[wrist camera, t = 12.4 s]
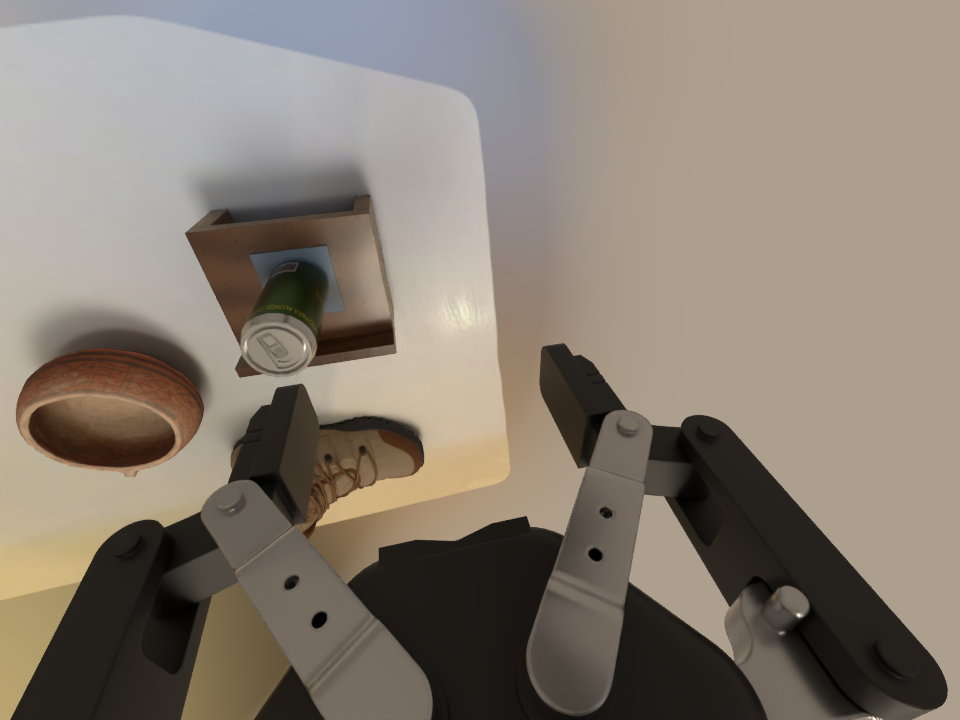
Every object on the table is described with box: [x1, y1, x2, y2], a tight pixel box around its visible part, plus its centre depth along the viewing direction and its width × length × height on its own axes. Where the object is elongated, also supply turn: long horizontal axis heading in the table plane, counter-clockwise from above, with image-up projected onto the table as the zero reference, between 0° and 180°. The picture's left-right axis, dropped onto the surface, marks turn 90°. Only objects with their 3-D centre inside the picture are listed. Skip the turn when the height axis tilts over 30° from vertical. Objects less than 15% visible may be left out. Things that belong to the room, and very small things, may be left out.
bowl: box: [16, 349, 204, 477], centre depth 46 cm, size 16×16×10 cm
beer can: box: [240, 261, 329, 377], centre depth 35 cm, size 5×5×12 cm
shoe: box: [231, 417, 424, 539], centre depth 56 cm, size 10×27×15 cm, turn 81°
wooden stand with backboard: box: [185, 195, 396, 377], centre depth 42 cm, size 14×16×10 cm
